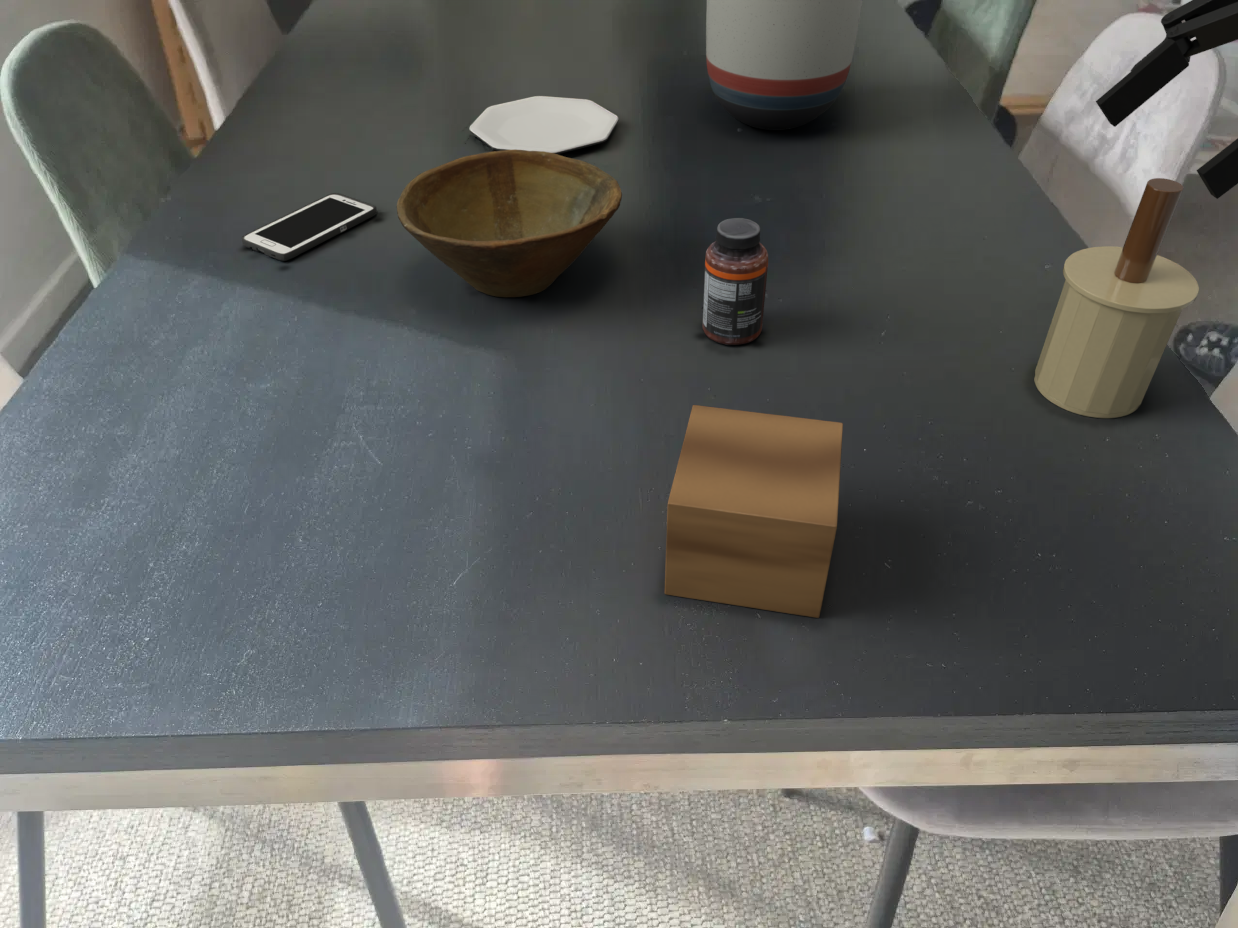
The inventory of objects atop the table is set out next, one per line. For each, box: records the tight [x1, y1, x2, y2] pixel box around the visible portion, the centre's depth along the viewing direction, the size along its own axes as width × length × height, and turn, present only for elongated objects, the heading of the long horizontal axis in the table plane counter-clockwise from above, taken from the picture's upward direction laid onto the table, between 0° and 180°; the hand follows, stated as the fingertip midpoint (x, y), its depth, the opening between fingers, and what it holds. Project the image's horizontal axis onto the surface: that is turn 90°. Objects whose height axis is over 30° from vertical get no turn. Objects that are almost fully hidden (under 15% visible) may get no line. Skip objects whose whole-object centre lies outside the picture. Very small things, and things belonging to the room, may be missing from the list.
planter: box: [705, 0, 864, 131], centre depth 129 cm, size 20×20×21 cm
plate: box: [469, 95, 620, 155], centre depth 133 cm, size 20×20×2 cm
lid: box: [1062, 177, 1200, 314], centre depth 77 cm, size 10×10×8 cm
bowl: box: [395, 149, 623, 298], centre depth 100 cm, size 22×23×10 cm
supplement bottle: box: [701, 217, 769, 346], centre depth 91 cm, size 6×6×11 cm
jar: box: [1033, 280, 1183, 419], centre depth 83 cm, size 9×9×11 cm
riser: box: [664, 404, 844, 619], centre depth 68 cm, size 11×11×9 cm
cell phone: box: [241, 192, 378, 262], centre depth 111 cm, size 8×15×1 cm, turn 145°
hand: (1151, 147), depth 72 cm, fingers open, 13 cm apart
